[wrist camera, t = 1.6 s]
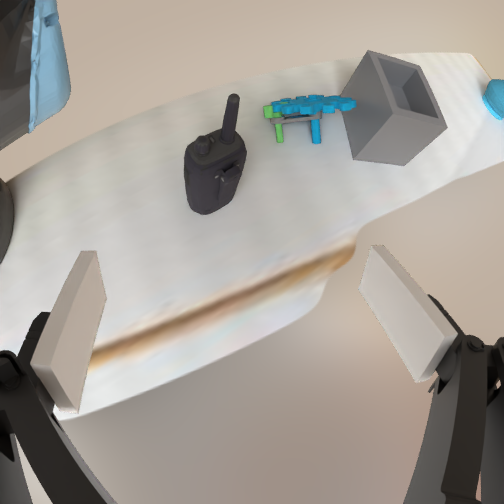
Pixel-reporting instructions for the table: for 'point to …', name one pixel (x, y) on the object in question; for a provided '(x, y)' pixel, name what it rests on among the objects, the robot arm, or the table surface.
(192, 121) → the table surface
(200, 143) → the two-way radio
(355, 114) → the charging dock
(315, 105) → the gear
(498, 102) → the perfume bottle
